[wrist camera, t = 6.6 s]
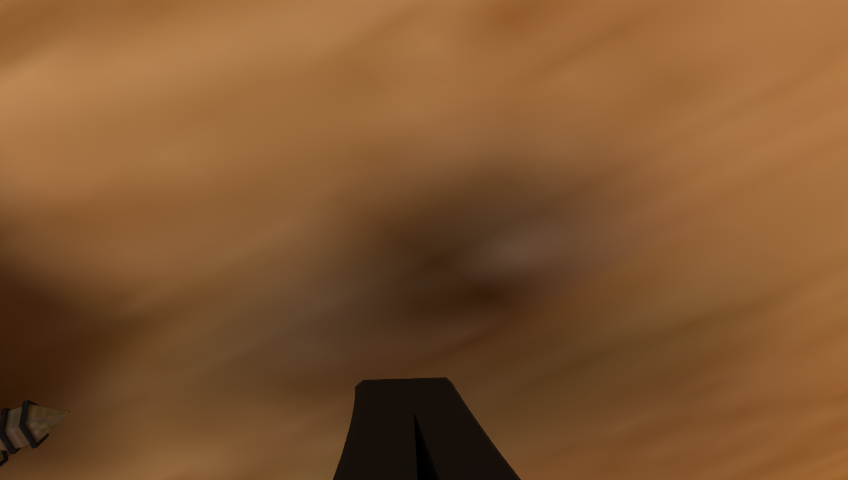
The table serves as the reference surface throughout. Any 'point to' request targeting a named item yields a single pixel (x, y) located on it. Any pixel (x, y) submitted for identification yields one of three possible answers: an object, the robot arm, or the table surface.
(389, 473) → the robot arm
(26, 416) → the game die
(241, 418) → the table surface
